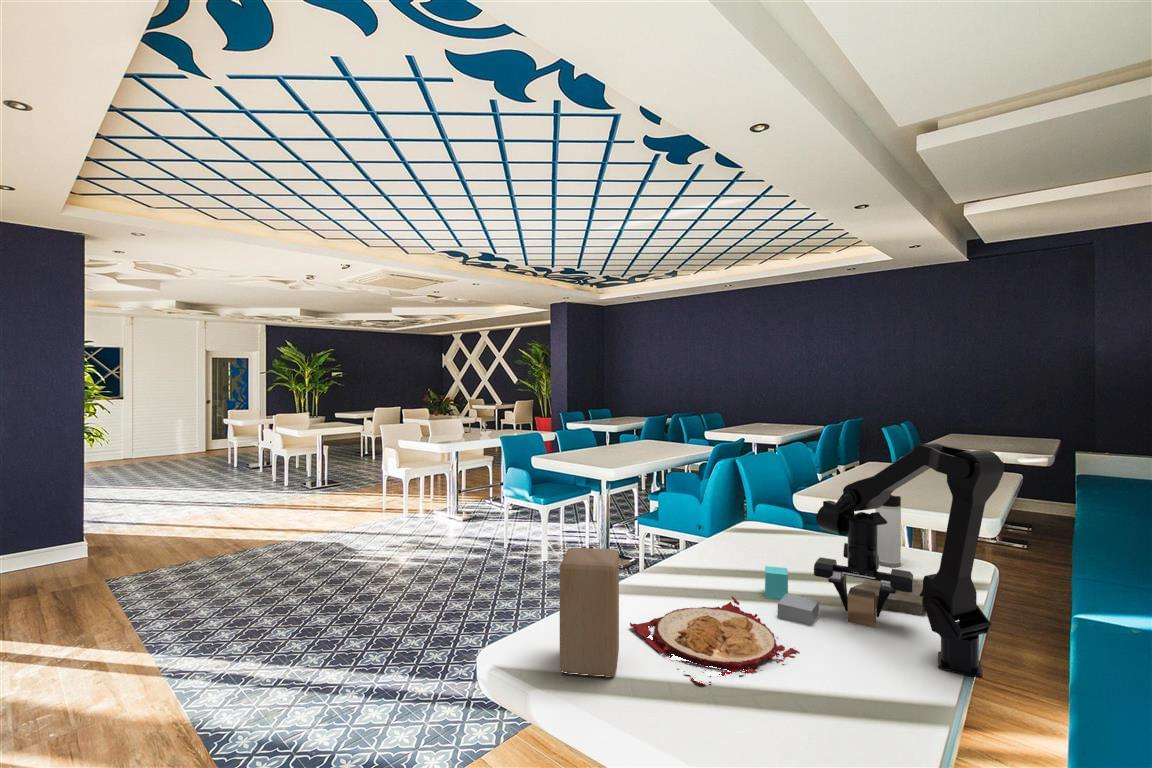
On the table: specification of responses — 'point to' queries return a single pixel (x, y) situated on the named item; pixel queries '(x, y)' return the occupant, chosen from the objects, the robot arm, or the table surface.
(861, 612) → the walnut cube
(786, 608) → the grey slab
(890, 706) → the table surface
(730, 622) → the plate with food
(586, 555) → the block
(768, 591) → the teal cube
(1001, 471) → the robot arm
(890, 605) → the marble piece
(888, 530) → the travel mug
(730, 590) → the table surface
